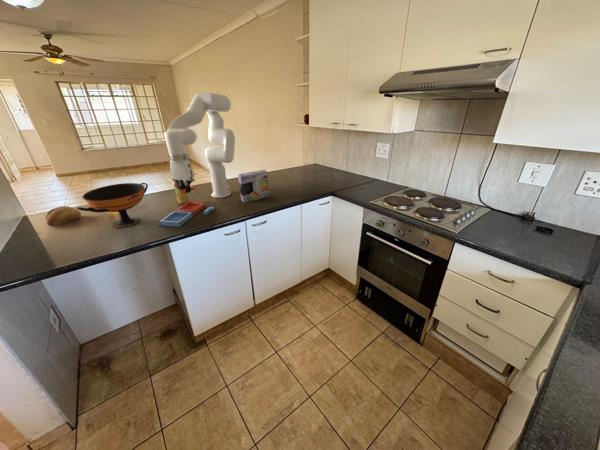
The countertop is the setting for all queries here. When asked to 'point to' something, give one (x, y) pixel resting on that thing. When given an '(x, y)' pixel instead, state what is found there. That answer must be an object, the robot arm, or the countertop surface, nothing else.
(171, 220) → the blue tray
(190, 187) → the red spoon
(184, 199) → the sauce bottle
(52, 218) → the bread roll
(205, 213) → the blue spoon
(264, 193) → the cake pan box
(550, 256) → the countertop surface
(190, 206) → the red tray
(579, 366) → the countertop surface
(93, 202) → the cup
